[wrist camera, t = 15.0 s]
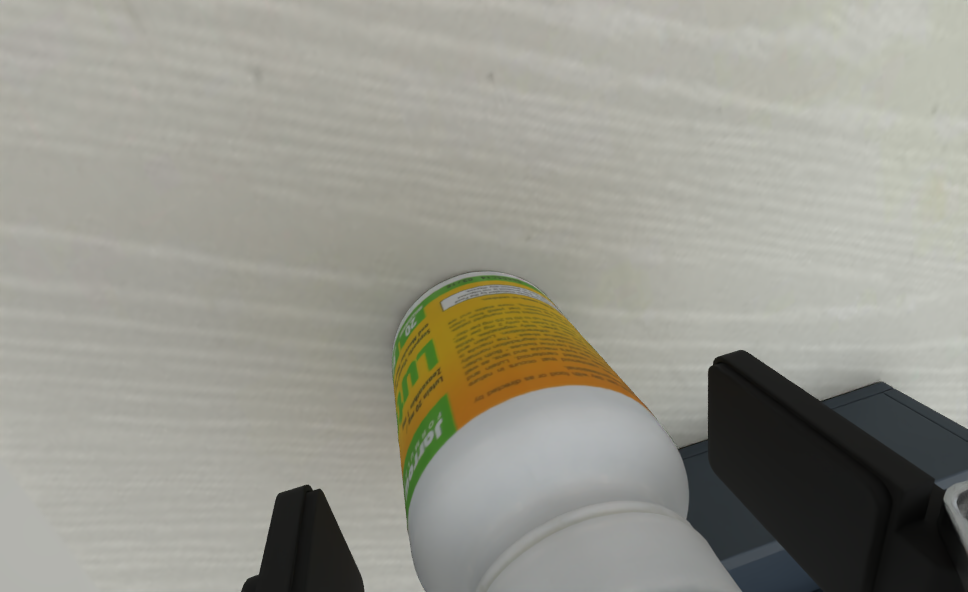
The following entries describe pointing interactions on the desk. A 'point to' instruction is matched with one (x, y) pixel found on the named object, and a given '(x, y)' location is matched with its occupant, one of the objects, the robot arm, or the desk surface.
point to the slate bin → (745, 541)
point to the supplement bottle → (533, 454)
